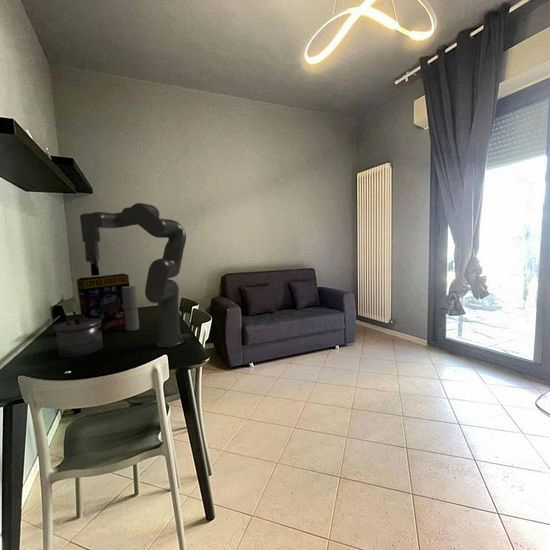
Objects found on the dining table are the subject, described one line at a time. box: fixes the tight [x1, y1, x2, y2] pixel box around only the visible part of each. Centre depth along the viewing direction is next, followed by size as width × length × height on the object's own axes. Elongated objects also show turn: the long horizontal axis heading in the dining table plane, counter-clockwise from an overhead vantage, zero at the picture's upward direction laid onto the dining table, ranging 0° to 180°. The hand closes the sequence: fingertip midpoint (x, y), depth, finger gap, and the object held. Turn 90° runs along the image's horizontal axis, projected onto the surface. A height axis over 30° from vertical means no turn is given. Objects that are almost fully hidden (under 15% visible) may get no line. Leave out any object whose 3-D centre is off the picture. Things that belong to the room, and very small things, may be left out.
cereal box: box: [76, 273, 131, 332], centre depth 186 cm, size 27×11×32 cm, turn 142°
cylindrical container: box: [122, 285, 140, 332], centre depth 180 cm, size 7×7×25 cm
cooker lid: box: [53, 317, 102, 331], centre depth 145 cm, size 19×19×3 cm
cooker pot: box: [46, 324, 109, 359], centre depth 146 cm, size 24×20×12 cm
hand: (95, 275), depth 155 cm, fingers closed
